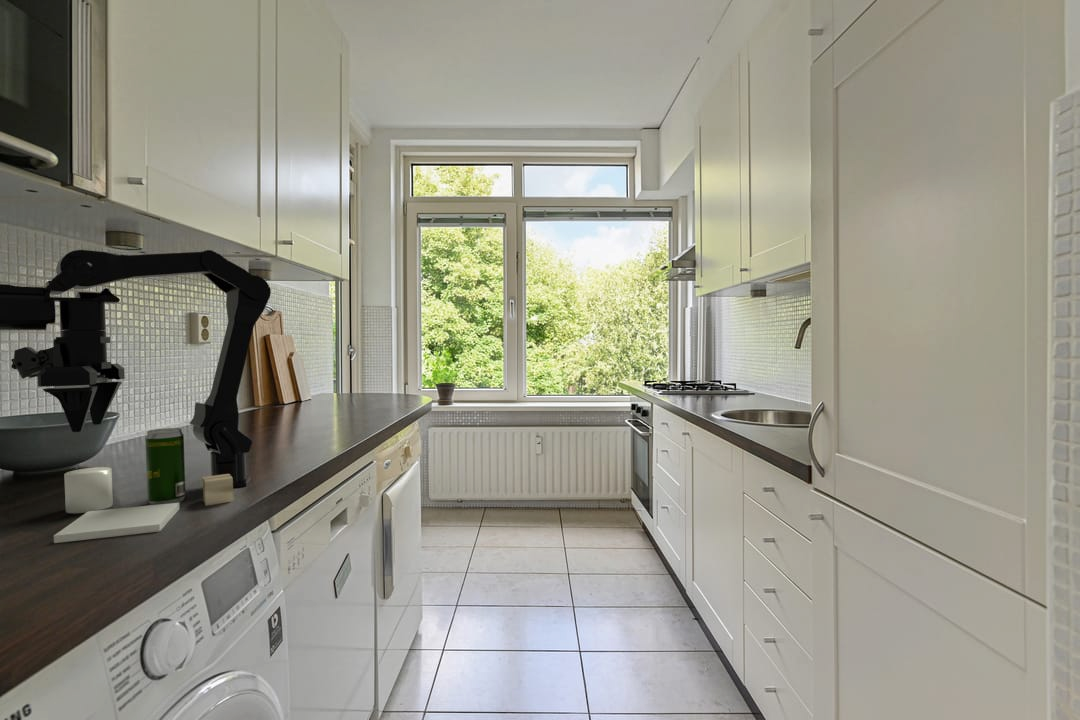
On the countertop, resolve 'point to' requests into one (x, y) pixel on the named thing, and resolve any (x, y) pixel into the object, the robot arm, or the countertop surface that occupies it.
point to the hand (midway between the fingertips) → (87, 428)
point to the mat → (118, 522)
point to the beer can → (165, 466)
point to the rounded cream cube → (88, 489)
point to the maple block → (217, 489)
